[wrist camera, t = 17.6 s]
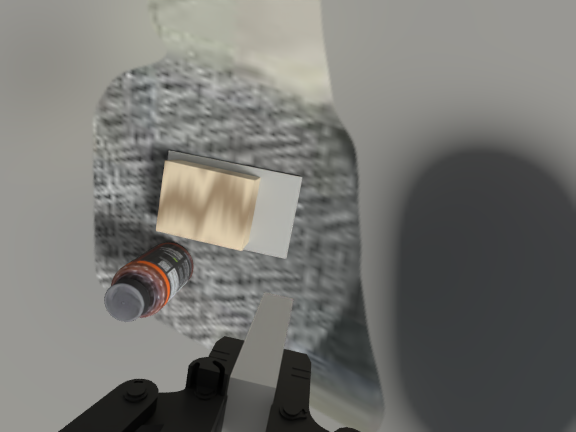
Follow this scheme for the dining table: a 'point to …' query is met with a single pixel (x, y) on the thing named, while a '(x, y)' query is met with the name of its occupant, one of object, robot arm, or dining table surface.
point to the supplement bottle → (148, 282)
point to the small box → (207, 204)
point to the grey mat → (263, 204)
